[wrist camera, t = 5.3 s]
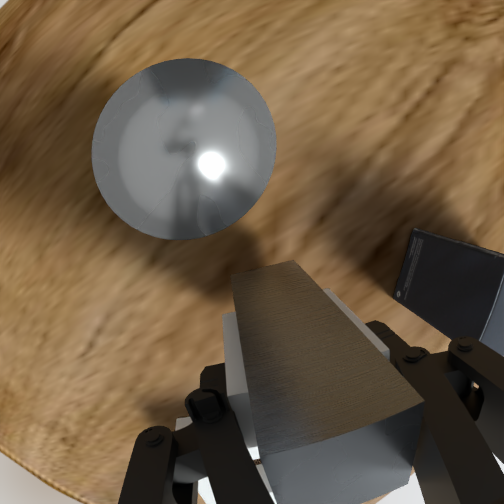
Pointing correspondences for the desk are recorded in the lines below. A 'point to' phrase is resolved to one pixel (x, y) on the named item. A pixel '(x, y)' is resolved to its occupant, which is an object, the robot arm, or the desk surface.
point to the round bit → (183, 149)
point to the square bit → (321, 393)
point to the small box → (454, 287)
